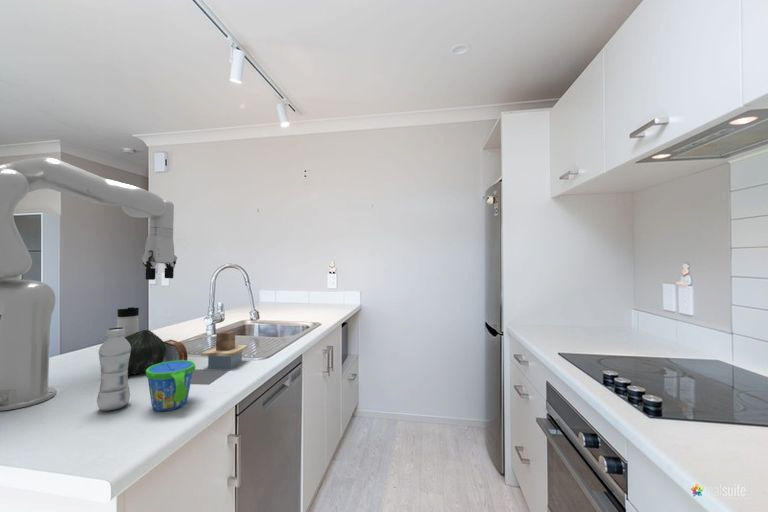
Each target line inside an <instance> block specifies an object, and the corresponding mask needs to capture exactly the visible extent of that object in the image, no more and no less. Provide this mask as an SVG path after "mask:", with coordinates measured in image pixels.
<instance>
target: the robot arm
mask: <svg viewBox="0 0 768 512" xmlns="http://www.w3.org/2000/svg"><path fill="white" fill-rule="evenodd" d="M44 189H45V190H47V189H48V190H53V191H55V192H59V193H61V194H65V195H68V196H71V197H75V198H77V199H80V200H83V201H86V202H88V203H92V204H98V205H103V206H104V205H106V206H119V207H121V209H122V211H123V212H124V213H125V214H126V215H127V216H129V217H132V218H146V219H147V218H148V219H149V221H148V236H147V238H146V241H145V247H144V254H143V255H141V258H140V259H141V261H142V264H143V266H144V268H145V280H147V281H148V280H149V281H150V280H151V281H155V279H156V274H157V273H156V268H155V267H156V265H157V264H164V266H165V267H164V279H174V277H175V276H174V273H175V267H176V264H177V260H178V256H177V255H176V254H175V244H174V219H175V218H174V217H175V216H174V215H175V211H174V210H175V206H174V203H173V202H172V201H170V200H164V199H163V198H162V197H161V196H159V195H158V194H156V193H153V192H152V191H149V190H146V189H144V188H141V187H138V186H135V185H131V184H128V183H124V182H120V181H117V180H114V179H108V178H106V177H102V176H101V175H100V176H99V175H97V174H95V173H93V172H89V171H87V170H85V169H82V168H80V167H77V166H76V165H73V164H70V163H68V162H66V161H63V160H60V159H57V158H54V157H48V156H46V157H45V156H42V157H32V158H25V159H21V160H16V161H12V162H8V163H3V164H0V315H1V317H0V412H1V411H10V410H16V409H20V408H26V407H29V406H33V405H37V404H39V403H42V402H45V401H47V400H50V399H51V398H53V397H55V396H56V394H57V389H56V388H54V387H50V386H49V375H50V373H49V372H50V371H49V369H50V347H51V344H50V342H51V341H50V340H51V323H52V322H51V321H52V316H53V313H54V309H55V305H56V298H57V297H56V293H55V291H54V290H53V288H52V287H50V285H48V284H46V283H45V282H42V281H39V280H33V279H20V276H22V275H24V274H26V273H28V272H29V271H30V269H31V268H32V266H33V259H32V256H31V254H30V252H29V250H28V248H27V245H26V244H25V242H24V240H23V238H22V236H21V234H20V231H19V230H18V227H17V225H16V221H15V218H14V213H15V209H16V207H17V205H18V204H19V203H20V202H21V201H22V200H23V199H24V198H25V197H26V196H27V195H28V193H31V192H34V191H38V190H44Z"/></svg>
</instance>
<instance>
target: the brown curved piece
mask: <svg viewBox="0 0 768 512" xmlns="http://www.w3.org/2000/svg"><path fill="white" fill-rule="evenodd" d="M163 342H164V344H165V346H166V354H165V357H164V359H163V362H168V361H176V360H187V361H188V351H187V347H186V345H185V344H184V343H182V342H180V341H177V340H174V339H168V340H163Z"/></svg>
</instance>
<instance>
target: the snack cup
mask: <svg viewBox="0 0 768 512" xmlns="http://www.w3.org/2000/svg"><path fill="white" fill-rule="evenodd" d="M195 369H196V364H195V362H194V361H192V360H188V359H187V360H176V361H168V362H162V363H158V364H155V365H152V366H150V367H149V368H147V370H146V374H145V377H146V379H147V381H148V389H149V397H150V403H151V408H152V409H153V410H155V411H157V412H161V411H164V412H169V411H173V410H176V409H179V408H181V407H182V406H184V405H185V404H187V402H188V399H189V398H188V397H189V394H190V388H191V385H192V384H191V379H192V373H193V371H194V370H195Z"/></svg>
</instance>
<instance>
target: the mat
mask: <svg viewBox="0 0 768 512" xmlns="http://www.w3.org/2000/svg"><path fill="white" fill-rule="evenodd" d="M230 371H231V369H202V368H201V369H196V368H195V370H194V371H193V373H192V379H191V384H190V385H201V386H202V385H205V386H206V385H207V386H208V385H210V384H212V383H214V382H215V381H216V380H218V379H220V378H222V377H223V376H224V375H226V374H227V373H229V372H230Z"/></svg>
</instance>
